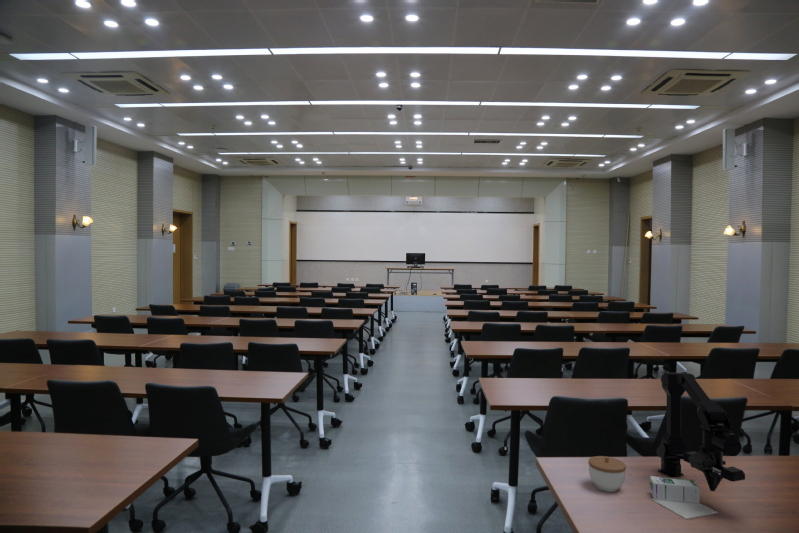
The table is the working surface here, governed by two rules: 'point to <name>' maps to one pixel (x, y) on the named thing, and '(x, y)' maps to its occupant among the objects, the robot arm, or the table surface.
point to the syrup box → (674, 489)
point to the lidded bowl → (607, 473)
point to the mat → (685, 508)
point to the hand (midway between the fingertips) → (712, 490)
